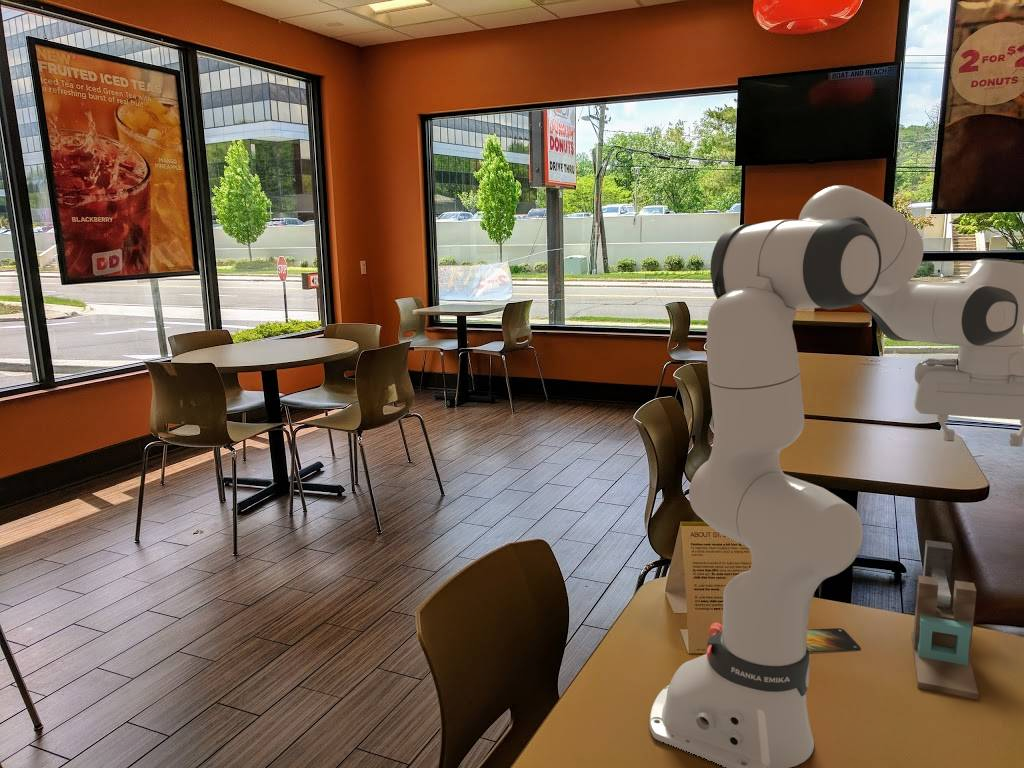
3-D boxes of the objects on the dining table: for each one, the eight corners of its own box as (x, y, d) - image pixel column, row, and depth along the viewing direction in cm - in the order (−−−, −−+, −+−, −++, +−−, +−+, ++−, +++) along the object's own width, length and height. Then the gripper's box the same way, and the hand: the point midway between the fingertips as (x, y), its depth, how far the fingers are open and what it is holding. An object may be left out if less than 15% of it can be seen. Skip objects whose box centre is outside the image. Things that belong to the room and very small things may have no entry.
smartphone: (862, 649, 125) (776, 653, 124) (862, 652, 125) (776, 656, 124) (842, 627, 132) (760, 631, 131) (842, 631, 132) (760, 634, 131)
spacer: (918, 656, 121) (921, 620, 120) (917, 650, 123) (920, 614, 121) (967, 665, 118) (971, 629, 117) (966, 659, 120) (969, 623, 118)
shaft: (929, 610, 124) (932, 571, 122) (922, 575, 136) (925, 540, 135) (956, 614, 122) (960, 575, 121) (947, 579, 134) (951, 543, 133)
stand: (917, 687, 114) (924, 610, 112) (911, 637, 128) (917, 567, 126) (977, 699, 111) (985, 620, 108) (964, 646, 125) (971, 575, 123)
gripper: (917, 360, 120) (911, 442, 123) (1070, 366, 111) (1060, 454, 114) (914, 355, 126) (909, 433, 128) (1060, 359, 117) (1051, 443, 120)
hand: (981, 443), depth 121 cm, fingers open, 8 cm apart
